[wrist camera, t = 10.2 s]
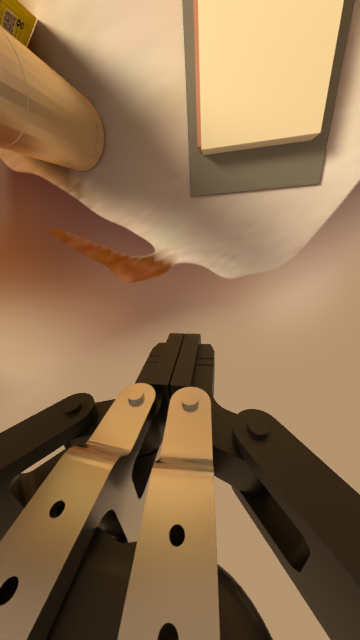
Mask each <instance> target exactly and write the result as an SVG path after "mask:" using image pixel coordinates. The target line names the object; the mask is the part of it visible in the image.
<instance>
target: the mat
mask: <svg viewBox="0 0 360 640" xmlns="http://www.w3.org/2000/svg"><path fill="white" fill-rule="evenodd" d="M182 2H183V25H184V47H185V70H186V93H187V115H188V138H189V160H190V183H191V197H192V196H202V195H212V194H222V193H232V192H242V191H252V190H261V189H271V188H281V187H291V186H301V185H311V184H319V183H320V177H321V172H322V167H323V162H324V156H325V151H326V146H327V141H328V136H329V130H330V125H331V120H332V115H333V110H334V104H335V99H336V94H337V89H338V83H339V78H340V73H341V68H342V63H343V57H344V52H345V47H346V42H347V36H348V31H349V26H350V21H351V16H352V10H353V5H354V0H344V3H343V8H342V14H341V20H340V25H339V31H338V37H337V42H336V48H335V53H334V59H333V65H332V70H331V76H330V82H329V87H328V93H327V99H326V104H325V110H324V116H323V121H322V127H321V132H320V133H319V134H318V135H317V136H316V137H314V138H313V139H312V140H310V141H302V142H295V143H288V144H281V145H274V146H266V147H259V148H252V149H245V150H237V151H230V152H223V153H216V154H208V155H203V153H202V152H199V149H198V146H197V112H196V78H195V44H194V10H193V0H182Z"/></svg>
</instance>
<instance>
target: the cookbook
mask: <svg viewBox="0 0 360 640" xmlns="http://www.w3.org/2000/svg"><path fill="white" fill-rule="evenodd" d="M343 3H344V0H193V10H194V44H195V78H196V112H197V146H198V149H199V152H202V153H203V155H208V154H216V153H223V152H230V151H237V150H245V149H252V148H259V147H266V146H274V145H281V144H288V143H295V142H302V141H310V140H312V139H313V138H314V137H316V136H317V135H318V134H319V133H320V132H321V127H322V121H323V116H324V110H325V104H326V99H327V93H328V87H329V82H330V76H331V70H332V65H333V59H334V53H335V48H336V42H337V37H338V31H339V25H340V20H341V14H342V8H343Z"/></svg>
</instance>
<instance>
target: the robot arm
mask: <svg viewBox="0 0 360 640" xmlns="http://www.w3.org/2000/svg"><path fill="white" fill-rule="evenodd" d="M0 148H1V149H5V150H8V151H12V152H15V153H19V154H22V155H25V156H29V157H32V158H36V159H39V160H43V161H46V162H50V163H53V164H57V165H60V166H63V167H67V168H70V169H74V170H78V171H86V170H89V169H91V168H93V167H94V166H95V165H96V164H97V163H98V161H99V160H100V158H101V155H102V153H103V148H104V129H103V125H102V121H101V119H100V116H99V114H98V112H97V110H96V109H95V107H94V106H93V104H92V103H91V102H90V101H89V100H88V99H87V98H86V97H85V96H83V95H82V94H81V93H80V92H79V91H77V90H76V89H75V88H74V87H73V86H72V85H71V84H69V83H68V82H67V81H66V80H65V79H63V78H62V77H61V76H60V75H59V74H57V73H56V72H55V71H54V70H53V69H52V68H50V67H49V66H48V65H47V64H46V63H44V62H43V61H42V60H41V59H40V58H38V57H37V56H36V55H35V54H34V53H33V52H31V51H30V50H29V49H28V48H27V47H25V46H24V45H23V44H22V43H21V42H19V41H18V40H17V39H16V38H15V37H14V36H12V35H11V34H10V33H9V32H8V31H6V30H5V29H4V28H3V27H2V26H0ZM213 393H214V350H213V348H212V346H211V345H210V344H201V336H200V334H179V333H170V334H169V337H168V339H167V341H166V343H159V344H157V345H156V346H155V347H154V348H153V349H152V351H151V353H150V355H149V357H148V359H147V361H146V363H145V365H144V367H143V369H142V370H141V372H140V374H139V376H138V378H137V380H136V382H135V384H132V385H130V386H128V387H126V388H125V389H123V390H122V391H121V393H120V394H119V395H118V397H117V398H116V399H113V400H108V401H103V402H97V403H95V402H94V399H93V397H92V396H91V395H90V394H87V393H78V394H74V395H71V396H69V397H67V398H65V399H63V400H61V401H60V402H58V403H56V404H54V405H52V406H50V407H48V408H46V409H45V410H43V411H41V412H39V413H37V414H35V415H33V416H31V417H29V418H28V419H26V420H24V421H22V422H20V423H18V424H16V425H15V426H13V427H11V428H9V429H7V430H5V431H3V432H1V433H0V640H273V639H272V637H271V635H270V633H269V631H268V629H267V627H266V625H265V623H264V621H263V619H262V618H261V616H260V614H259V613H258V611H257V609H256V608H255V606H254V604H253V603H252V601H251V600H250V598H249V597H248V596H247V594H246V593H245V591H244V590H243V589H242V587H241V586H240V585H239V584H238V583H237V582H236V581H235V580H234V578H233V577H232V576H231V575H230V574H229V573H228V572H226V571H225V570H224V569H223V568H222V567H221V566H219V565H218V564H217V547H216V521H215V493H214V476H216V477H218V478H219V479H221V480H223V481H225V482H227V483H228V484H230V485H231V486H232V489H233V491H234V492H235V494H236V496H237V497H238V499H239V500H240V502H241V503H242V505H243V506H244V508H245V509H246V511H247V512H248V514H249V515H250V517H251V518H252V520H253V521H254V523H255V525H256V526H257V528H258V529H259V531H260V532H261V534H262V535H263V537H264V538H265V540H266V541H267V543H268V544H269V546H270V547H271V549H272V551H273V552H274V554H275V555H276V557H277V558H278V560H279V561H280V563H281V564H282V566H283V567H284V569H285V571H286V572H287V574H288V575H289V577H290V578H291V580H292V581H293V583H294V584H295V586H296V587H297V589H298V590H299V592H300V594H301V595H302V597H303V598H304V600H305V601H306V602H307V604H308V606H309V607H310V609H311V610H312V612H313V613H314V615H315V616H316V618H317V620H318V621H319V623H320V624H321V626H322V627H323V629H324V630H325V632H326V633H327V635H328V636H329V638H330V639H331V640H360V495H359V494H358V493H357V492H356V491H355V490H354V489H353V488H351V487H350V486H349V485H348V484H347V483H346V482H345V481H344V480H343V479H341V478H340V477H339V476H338V475H337V474H336V473H335V472H334V471H333V470H332V469H330V468H329V467H328V466H327V465H326V464H325V463H324V462H322V460H320V459H319V458H318V457H317V456H316V455H315V454H314V453H312V452H311V451H310V450H309V449H308V448H307V447H306V446H305V445H304V444H303V443H301V442H300V441H299V440H298V439H297V438H296V437H295V436H294V435H292V433H290V432H289V431H288V430H287V429H286V428H285V427H284V426H283V425H281V424H280V423H279V422H278V421H277V420H276V419H275V418H274V417H272V416H271V415H269V414H268V413H266V412H264V411H261V410H256V409H247V410H244V411H242V412H240V413H238V414H235V413H233V412H230V411H228V410H226V409H224V408H222V407H221V406H220V405H218V404H217V402H216V401H215V400H214V398H213ZM63 445H64V447H65V450H63V451H62V452H60V453H59V454H57V455H56V456H54V457H53V458H51V459H50V460H48V461H47V462H45V463H44V464H42V465H41V466H39V467H38V468H36V469H35V470H33V471H31V472H29V473H24V474H22V473H21V472H23V471H24V470H26V469H27V468H29V467H30V466H32V465H33V464H35V463H36V462H38V461H40V460H41V459H43V458H44V457H46V456H47V455H49V454H50V453H52V452H53V451H55V450H56V449H58V448H59V447H61V446H63Z"/></svg>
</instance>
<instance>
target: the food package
mask: <svg viewBox="0 0 360 640" xmlns="http://www.w3.org/2000/svg"><path fill="white" fill-rule="evenodd" d="M35 21H36V17H35V16H34V15H32V14H31V13H30V12H29V11H28V10H27V9H26V8H25V7H24V6H23V5H22V4H21V3H20V2H18V1H17V0H0V26H2V27H3V28H4V29H5V30H6V31H8V32H9V33H10V34H11V35H12V36H14V37H15V38H16V39H17V40H18V41H19V42H21V43H22V44H23V45H24V46H25V47H26V45H27V42H28V40H29V37H30V34H31V32H32V29H33V27H34V24H35Z"/></svg>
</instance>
